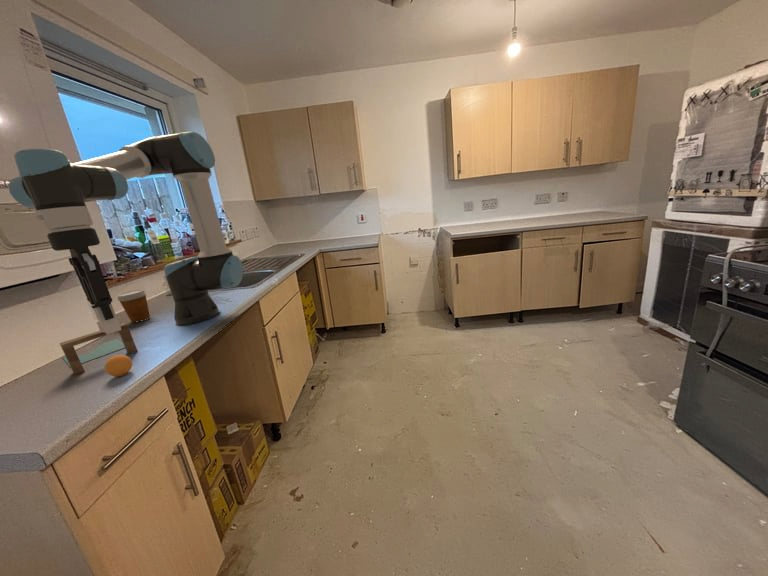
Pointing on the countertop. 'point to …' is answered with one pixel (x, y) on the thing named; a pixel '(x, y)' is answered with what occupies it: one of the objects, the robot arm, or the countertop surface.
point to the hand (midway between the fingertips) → (112, 330)
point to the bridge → (69, 344)
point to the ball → (118, 365)
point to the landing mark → (101, 351)
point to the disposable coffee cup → (135, 305)
